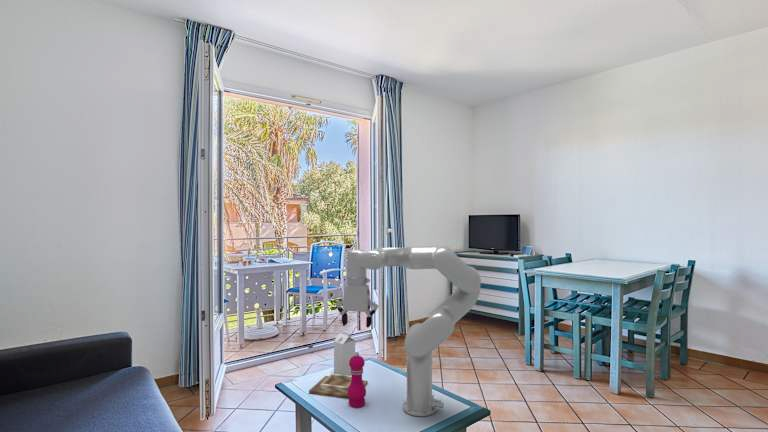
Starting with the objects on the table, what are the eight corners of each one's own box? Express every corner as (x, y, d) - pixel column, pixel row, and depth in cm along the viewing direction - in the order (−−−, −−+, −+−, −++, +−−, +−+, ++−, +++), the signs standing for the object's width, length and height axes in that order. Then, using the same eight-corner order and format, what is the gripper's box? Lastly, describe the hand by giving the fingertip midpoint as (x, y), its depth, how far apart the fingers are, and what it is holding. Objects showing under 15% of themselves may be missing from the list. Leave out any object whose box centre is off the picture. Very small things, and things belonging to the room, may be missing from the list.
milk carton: (346, 369, 187) (346, 329, 187) (355, 373, 182) (355, 332, 182) (333, 373, 182) (333, 332, 182) (343, 377, 177) (343, 335, 177)
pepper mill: (363, 409, 147) (363, 355, 148) (345, 407, 149) (345, 354, 149) (368, 400, 154) (368, 349, 155) (350, 398, 156) (350, 348, 156)
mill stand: (367, 383, 170) (367, 375, 170) (354, 399, 155) (354, 391, 155) (325, 378, 176) (325, 370, 176) (308, 393, 161) (308, 385, 161)
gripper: (380, 280, 153) (380, 324, 153) (339, 279, 158) (339, 321, 158) (375, 284, 146) (375, 330, 146) (332, 281, 151) (332, 326, 151)
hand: (356, 325), depth 152 cm, fingers open, 9 cm apart
